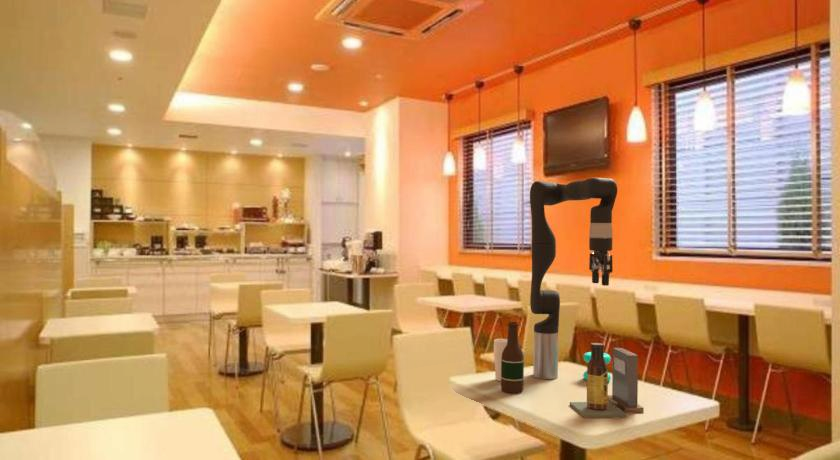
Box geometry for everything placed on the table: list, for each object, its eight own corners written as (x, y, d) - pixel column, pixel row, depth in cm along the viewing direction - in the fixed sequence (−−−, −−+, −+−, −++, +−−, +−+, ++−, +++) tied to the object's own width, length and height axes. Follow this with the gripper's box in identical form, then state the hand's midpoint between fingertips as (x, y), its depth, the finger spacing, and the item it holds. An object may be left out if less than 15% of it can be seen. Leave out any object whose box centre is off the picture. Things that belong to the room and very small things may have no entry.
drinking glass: (512, 382, 217) (513, 342, 217) (494, 382, 217) (494, 341, 217) (510, 378, 224) (510, 338, 224) (492, 377, 224) (492, 338, 224)
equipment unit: (606, 399, 196) (607, 347, 196) (623, 399, 196) (624, 347, 196) (624, 412, 182) (625, 356, 182) (643, 412, 182) (644, 356, 182)
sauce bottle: (608, 411, 179) (609, 346, 180) (587, 410, 181) (588, 345, 181) (606, 405, 186) (606, 342, 186) (585, 404, 187) (586, 341, 187)
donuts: (609, 352, 226) (612, 357, 216) (609, 378, 226) (611, 384, 216) (582, 350, 228) (584, 355, 219) (582, 376, 228) (583, 382, 219)
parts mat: (569, 405, 189) (569, 402, 189) (608, 404, 190) (608, 401, 190) (584, 417, 176) (584, 414, 176) (626, 417, 177) (626, 414, 177)
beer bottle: (509, 386, 211) (510, 319, 211) (528, 391, 205) (528, 322, 205) (496, 390, 205) (497, 322, 205) (514, 395, 200) (515, 324, 200)
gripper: (582, 236, 207) (581, 282, 207) (598, 236, 193) (597, 286, 192) (603, 236, 207) (602, 282, 207) (620, 237, 193) (619, 286, 193)
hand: (600, 284), depth 200 cm, fingers open, 8 cm apart
